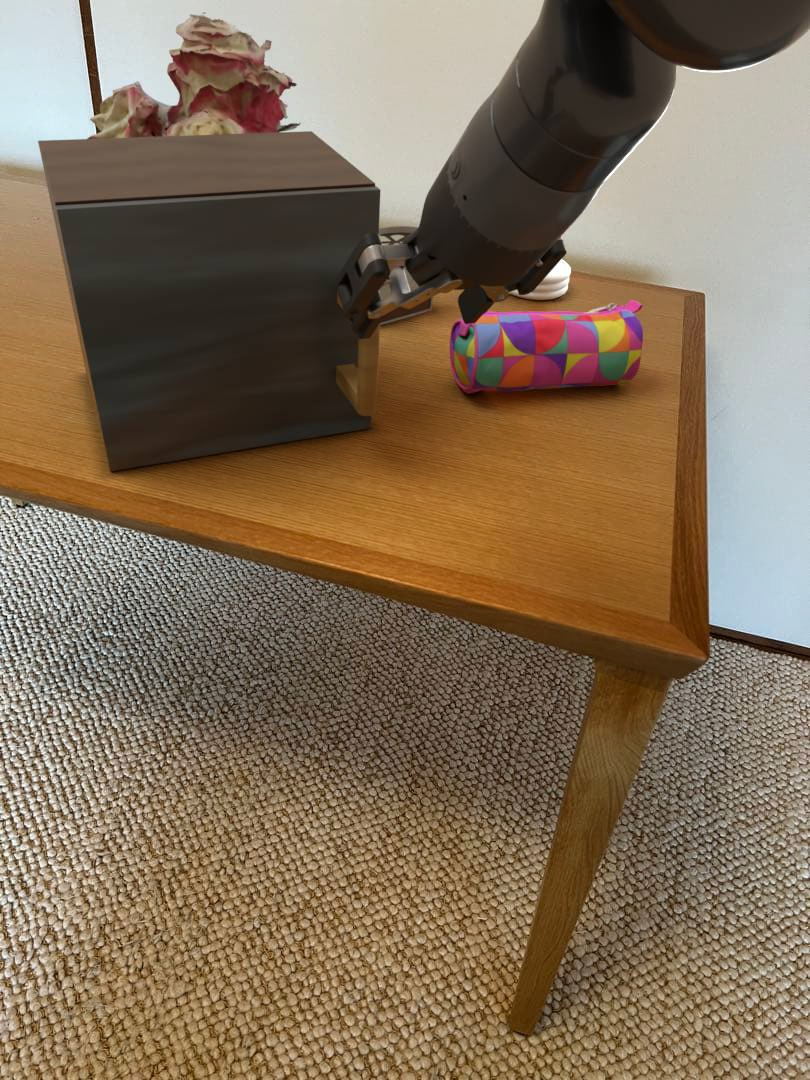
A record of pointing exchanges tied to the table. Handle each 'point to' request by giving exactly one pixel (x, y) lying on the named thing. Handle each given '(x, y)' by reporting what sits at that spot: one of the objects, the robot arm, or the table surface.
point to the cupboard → (187, 173)
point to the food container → (394, 237)
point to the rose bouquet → (204, 89)
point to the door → (220, 320)
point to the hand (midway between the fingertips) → (413, 319)
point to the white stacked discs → (550, 284)
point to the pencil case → (547, 349)
